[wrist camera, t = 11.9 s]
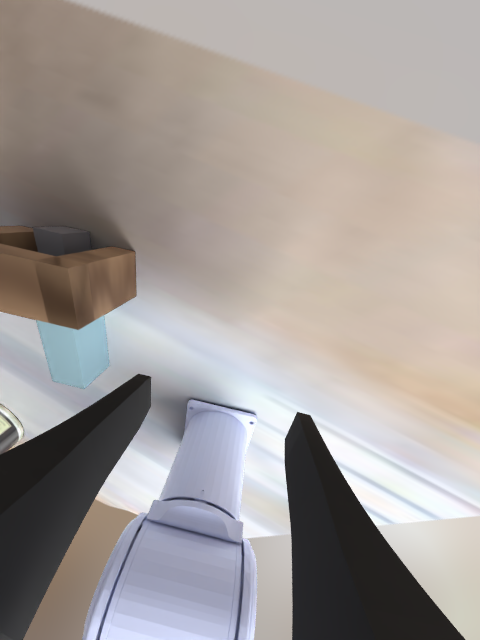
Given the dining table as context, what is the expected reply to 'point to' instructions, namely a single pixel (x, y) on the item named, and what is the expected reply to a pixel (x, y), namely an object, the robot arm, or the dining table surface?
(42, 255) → the brown block
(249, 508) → the dining table surface
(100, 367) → the light blue pillar
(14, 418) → the coffee can
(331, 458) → the robot arm
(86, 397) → the dining table surface
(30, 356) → the dining table surface
